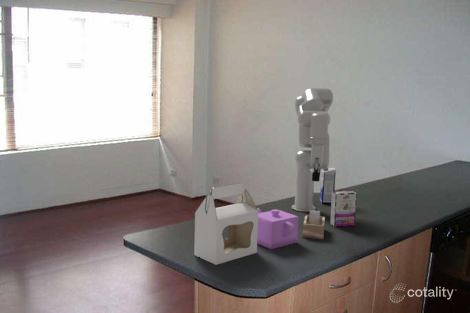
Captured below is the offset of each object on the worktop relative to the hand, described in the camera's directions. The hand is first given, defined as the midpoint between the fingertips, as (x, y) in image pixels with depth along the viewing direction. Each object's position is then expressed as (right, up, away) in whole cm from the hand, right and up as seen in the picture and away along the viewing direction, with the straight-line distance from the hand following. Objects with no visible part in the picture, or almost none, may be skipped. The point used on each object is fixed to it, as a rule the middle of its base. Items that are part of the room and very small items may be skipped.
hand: (316, 178), depth 231 cm
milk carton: (+15, -16, +59) cm, 63 cm away
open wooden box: (-1, -25, +2) cm, 25 cm away
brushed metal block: (-1, -24, +2) cm, 24 cm away
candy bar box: (+15, -23, +16) cm, 32 cm away
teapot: (-21, -27, -10) cm, 35 cm away
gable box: (-40, -29, -28) cm, 57 cm away
